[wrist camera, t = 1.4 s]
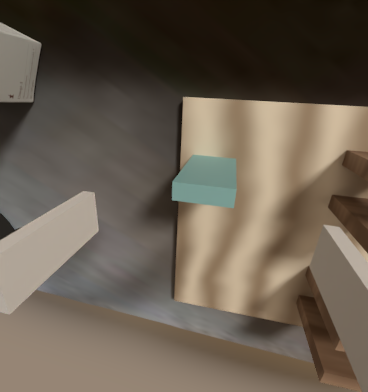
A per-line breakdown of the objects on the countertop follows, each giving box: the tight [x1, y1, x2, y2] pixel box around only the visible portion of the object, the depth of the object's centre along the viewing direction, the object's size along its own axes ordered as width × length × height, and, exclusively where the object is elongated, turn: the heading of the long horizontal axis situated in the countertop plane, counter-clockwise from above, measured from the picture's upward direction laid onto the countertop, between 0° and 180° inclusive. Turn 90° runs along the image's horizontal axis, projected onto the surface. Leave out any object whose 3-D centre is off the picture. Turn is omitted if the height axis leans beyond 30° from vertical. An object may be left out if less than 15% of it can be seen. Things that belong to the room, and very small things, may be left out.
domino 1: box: [172, 155, 237, 208], centre depth 23 cm, size 2×5×10 cm, turn 87°
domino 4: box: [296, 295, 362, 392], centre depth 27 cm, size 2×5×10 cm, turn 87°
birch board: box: [174, 97, 368, 327], centre depth 29 cm, size 26×30×1 cm
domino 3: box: [305, 266, 345, 352], centre depth 25 cm, size 2×5×10 cm, turn 87°
